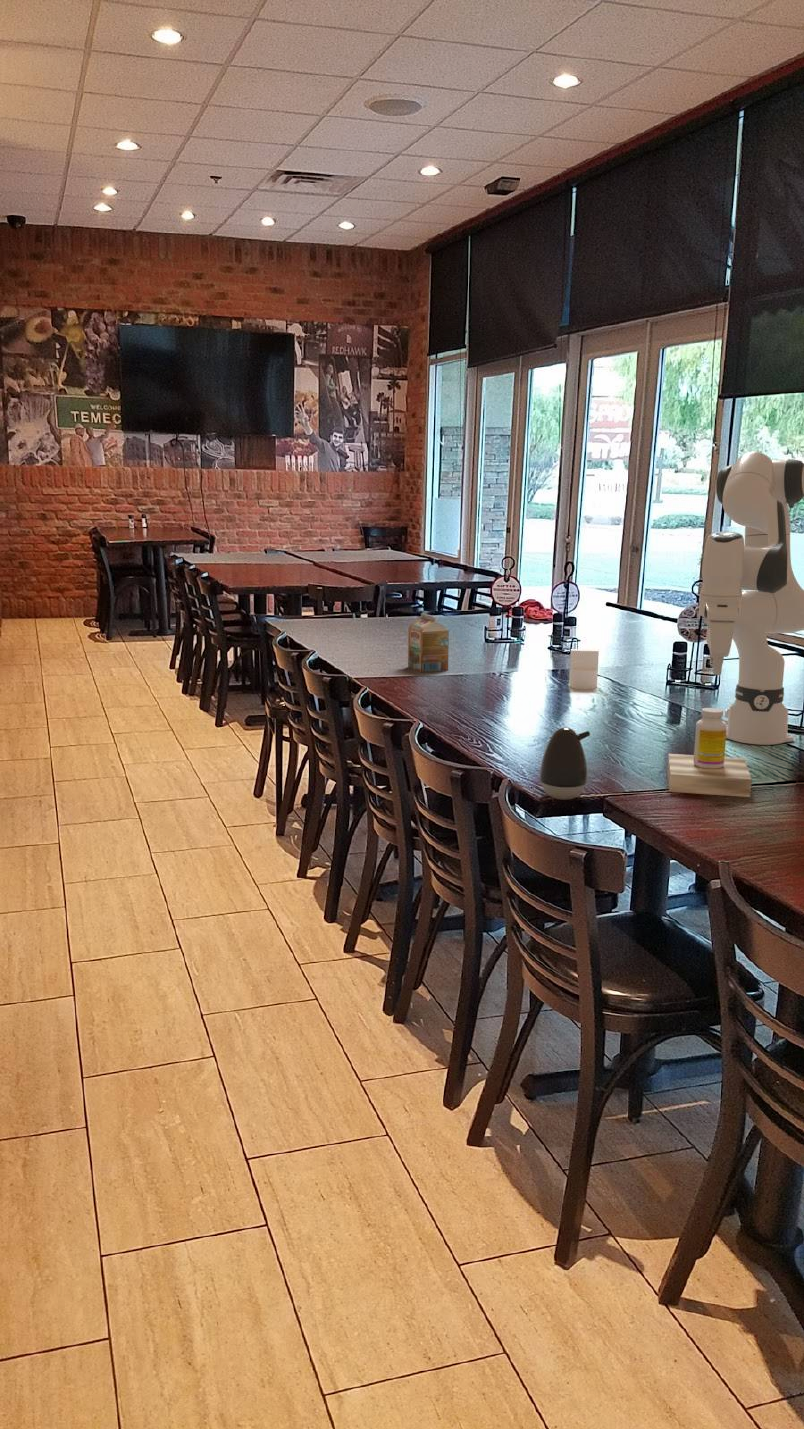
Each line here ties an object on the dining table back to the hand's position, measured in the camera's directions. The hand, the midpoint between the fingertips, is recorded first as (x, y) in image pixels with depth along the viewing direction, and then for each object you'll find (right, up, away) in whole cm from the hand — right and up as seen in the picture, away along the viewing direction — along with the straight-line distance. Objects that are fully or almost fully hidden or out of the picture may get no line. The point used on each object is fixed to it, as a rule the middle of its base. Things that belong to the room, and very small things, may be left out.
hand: (715, 670), depth 240 cm
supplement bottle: (0, -21, +5) cm, 22 cm away
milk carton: (-60, +6, +144) cm, 156 cm away
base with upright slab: (-10, -1, +114) cm, 115 cm away
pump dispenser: (-34, -28, -5) cm, 44 cm away
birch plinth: (0, -25, +6) cm, 26 cm away
